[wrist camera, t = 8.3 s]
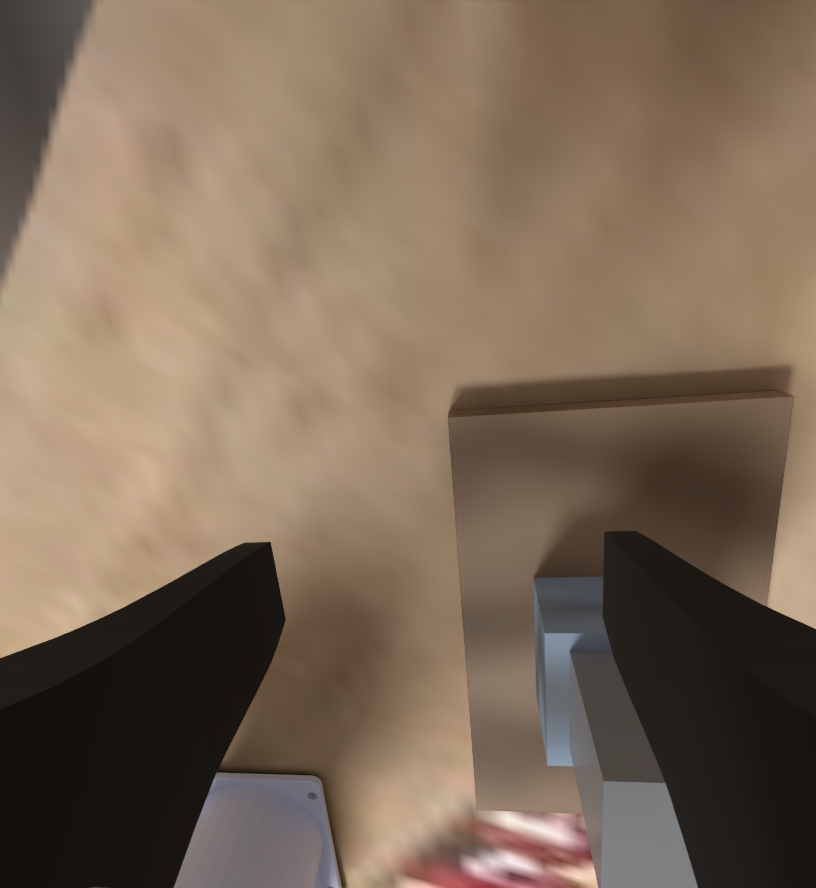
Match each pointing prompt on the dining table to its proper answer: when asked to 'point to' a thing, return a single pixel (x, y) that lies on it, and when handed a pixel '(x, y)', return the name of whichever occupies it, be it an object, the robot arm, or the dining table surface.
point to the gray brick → (621, 783)
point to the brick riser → (591, 549)
